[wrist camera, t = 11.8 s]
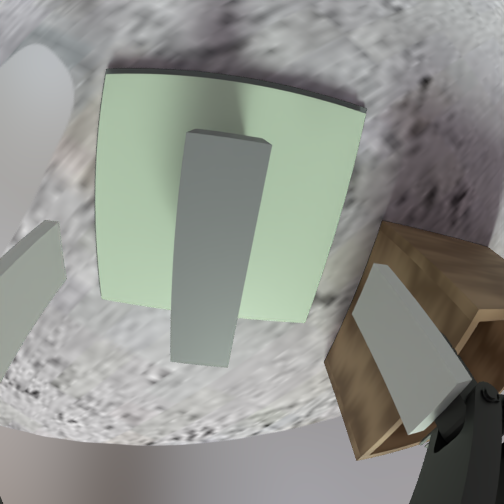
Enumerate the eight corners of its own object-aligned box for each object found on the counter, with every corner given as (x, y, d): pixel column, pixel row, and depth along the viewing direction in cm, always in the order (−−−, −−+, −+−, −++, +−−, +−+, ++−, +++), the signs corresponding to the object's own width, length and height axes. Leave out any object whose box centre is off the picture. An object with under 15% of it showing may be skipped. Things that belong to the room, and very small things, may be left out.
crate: (382, 220, 22) (478, 309, 11) (488, 247, 24) (558, 307, 13) (323, 362, 29) (356, 460, 18) (429, 356, 31) (471, 424, 20)
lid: (111, 75, 15) (34, 59, 7) (359, 113, 17) (442, 122, 9) (105, 292, 22) (65, 371, 14) (302, 315, 25) (330, 399, 17)
